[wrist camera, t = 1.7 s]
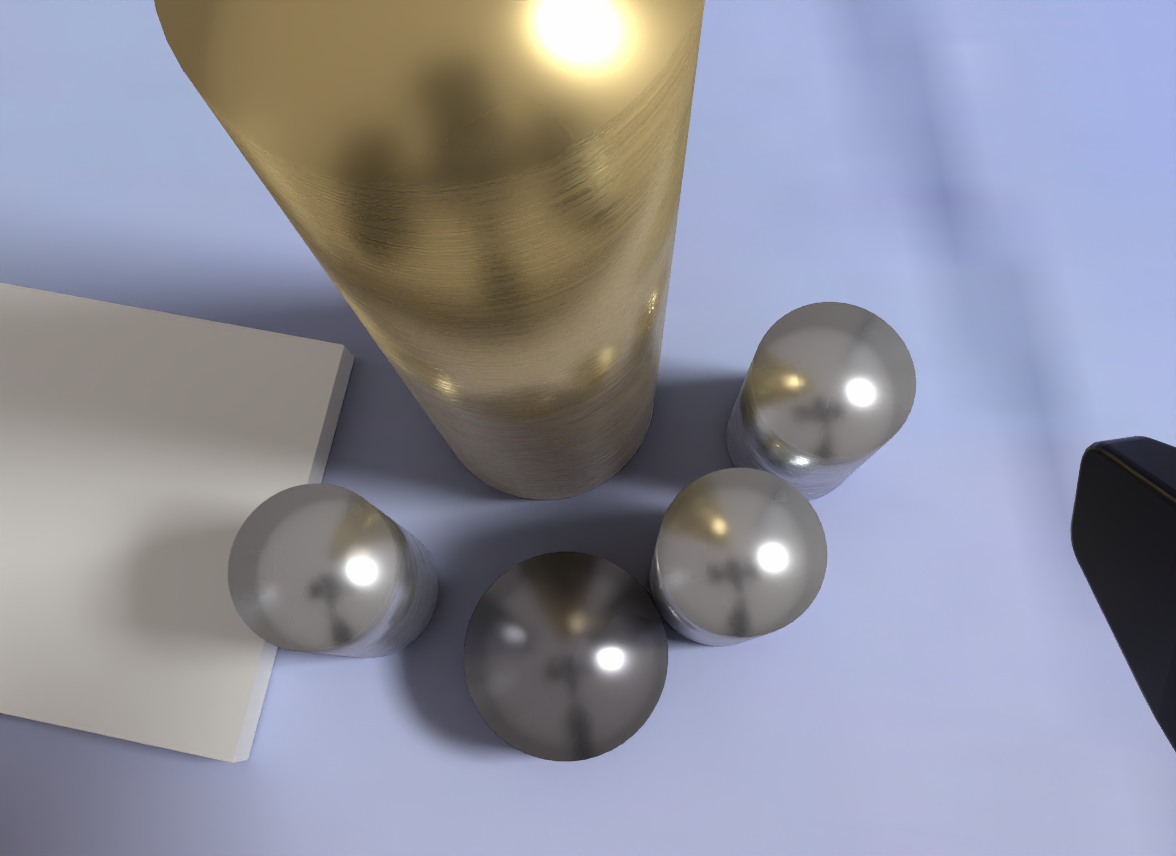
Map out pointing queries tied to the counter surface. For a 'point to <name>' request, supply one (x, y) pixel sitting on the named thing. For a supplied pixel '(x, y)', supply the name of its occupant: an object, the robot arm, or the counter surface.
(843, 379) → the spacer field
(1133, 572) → the robot arm
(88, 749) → the counter surface
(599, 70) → the brass tube
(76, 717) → the tile
